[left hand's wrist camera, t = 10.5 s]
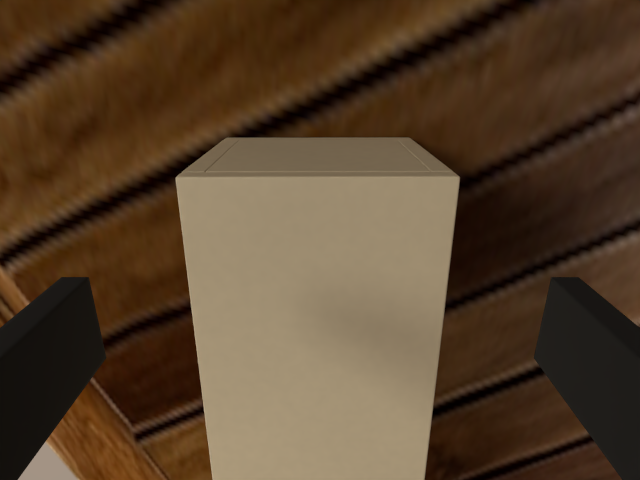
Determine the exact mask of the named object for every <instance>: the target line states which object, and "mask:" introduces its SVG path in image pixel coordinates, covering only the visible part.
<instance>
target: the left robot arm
mask: <svg viewBox="0 0 640 480" xmlns="http://www.w3.org/2000/svg"><path fill="white" fill-rule="evenodd" d="M105 359H106V355H105V350H104V346H103V341H102V336H101V332H100V327H99V323H98V318H97V314H96V309H95V304H94V300H93V295H92V291H91V286H90V281H89V277H61V278H60V279H59V280H58V281H57V282H55V283H54V284H53V285H52V286H50V287H49V288H48V289H47V290H46V291H44V292H43V293H42V294H41V295H40V296H38V297H37V298H36V299H35V300H34V301H32V302H31V303H30V304H29V305H27V306H26V307H25V308H24V309H23V310H21V311H20V312H19V313H18V314H17V315H15V316H14V317H13V318H12V319H10V320H9V321H8V322H7V323H6V324H4V325H3V326H2V327H1V328H0V480H18V478H19V477H20V476H21V474H22V473H23V471H24V470H25V469H26V467H27V466H28V465H29V463H30V462H31V460H32V459H33V458H34V456H35V455H36V454H37V452H38V451H39V449H40V448H41V447H42V445H43V444H44V443H45V441H46V440H47V439H48V437H49V436H50V434H51V433H52V432H53V430H54V429H55V428H56V426H57V425H58V423H59V422H60V421H61V419H62V418H63V417H64V415H65V414H66V412H67V411H68V410H69V408H70V407H71V406H72V404H73V403H74V401H75V400H76V399H77V397H78V396H79V395H80V393H81V392H82V390H83V389H84V388H85V386H86V385H87V384H88V382H89V381H90V379H91V378H92V377H93V375H94V374H95V373H96V371H97V370H98V368H99V367H100V366H101V364H102V363H103V362H104V360H105ZM534 359H535V360H536V362H537V363H538V364H539V366H540V367H541V368H542V370H543V371H544V373H545V374H546V375H547V377H548V378H549V379H550V381H551V382H552V384H553V385H554V386H555V388H556V389H557V390H558V392H559V393H560V395H561V396H562V397H563V399H564V400H565V401H566V403H567V404H568V406H569V407H570V408H571V410H572V411H573V412H574V414H575V415H576V417H577V418H578V419H579V421H580V422H581V423H582V425H583V426H584V428H585V429H586V430H587V432H588V433H589V434H590V436H591V437H592V439H593V440H594V441H595V443H596V444H597V445H598V447H599V448H600V450H601V451H602V452H603V454H604V455H605V456H606V458H607V459H608V460H609V462H610V463H611V465H612V466H613V467H614V469H615V470H616V471H617V473H618V474H619V476H620V477H621V478H622V480H640V328H639V327H638V326H637V325H636V324H634V323H633V322H632V321H631V320H630V319H628V318H627V317H626V316H625V315H623V314H622V313H621V312H620V311H619V310H617V309H616V308H615V307H614V306H613V305H611V304H610V303H609V302H608V301H606V300H605V299H604V298H603V297H602V296H600V295H599V294H598V293H597V292H596V291H594V290H593V289H592V288H591V287H590V286H588V285H587V284H586V283H585V282H583V281H582V280H581V279H580V278H579V277H551V281H550V286H549V291H548V295H547V300H546V304H545V309H544V314H543V318H542V323H541V327H540V332H539V336H538V341H537V346H536V350H535V355H534Z"/></svg>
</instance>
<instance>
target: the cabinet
mask: <svg viewBox="0 0 640 480" xmlns="http://www.w3.org/2000/svg"><path fill="white" fill-rule="evenodd" d="M459 183H460V177H459V176H458V175H457V174H456V173H454V172H453V171H452V170H451V169H449V168H448V167H447V166H446V165H444V164H443V163H442V162H440V161H439V160H438V159H437V158H435V157H434V156H433V155H431V154H430V153H429V152H427V151H426V150H425V149H424V148H422V147H421V146H420V145H418V144H417V143H416V142H415V141H413V140H412V139H411V138H226V139H224V140H223V141H221V142H220V143H219V144H218V145H216V146H215V147H214V148H212V149H211V150H210V151H209V152H207V153H206V154H205V155H203V156H202V157H201V158H199V159H198V160H197V161H196V162H194V163H193V164H192V165H190V166H189V167H188V168H187V169H185V170H184V171H183V172H182V173H181V174H179V175H178V176H177V177H176V186H177V194H178V202H179V210H180V219H181V227H182V235H183V243H184V251H185V259H186V267H187V275H188V283H189V291H190V300H191V308H192V316H193V324H194V332H195V340H196V348H197V356H198V364H199V373H200V381H201V389H202V397H203V405H204V413H205V421H206V429H207V437H208V446H209V454H210V462H211V470H212V478H213V480H425V471H426V463H427V454H428V446H429V437H430V429H431V420H432V412H433V403H434V395H435V386H436V378H437V370H438V361H439V353H440V344H441V336H442V327H443V319H444V310H445V302H446V293H447V285H448V276H449V268H450V259H451V251H452V242H453V234H454V225H455V217H456V208H457V200H458V192H459Z"/></svg>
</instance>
